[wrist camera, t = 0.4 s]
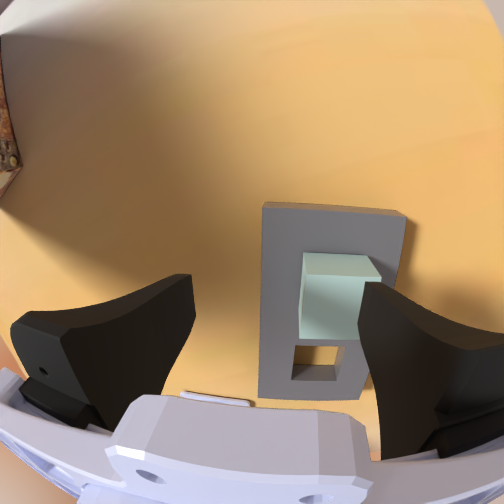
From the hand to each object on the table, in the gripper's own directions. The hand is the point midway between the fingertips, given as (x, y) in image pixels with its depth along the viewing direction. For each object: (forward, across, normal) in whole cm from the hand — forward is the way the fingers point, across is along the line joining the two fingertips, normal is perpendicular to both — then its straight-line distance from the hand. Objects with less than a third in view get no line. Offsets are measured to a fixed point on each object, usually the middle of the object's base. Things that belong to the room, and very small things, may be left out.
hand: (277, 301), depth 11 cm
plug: (+10, -4, +3) cm, 11 cm away
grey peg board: (+10, -4, +7) cm, 13 cm away
